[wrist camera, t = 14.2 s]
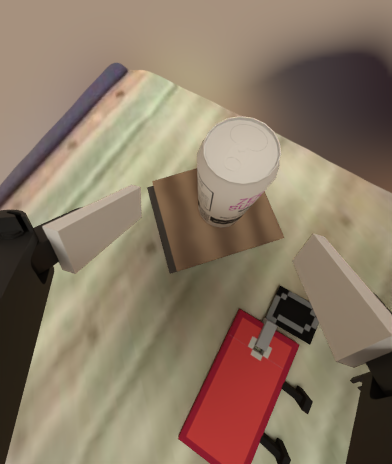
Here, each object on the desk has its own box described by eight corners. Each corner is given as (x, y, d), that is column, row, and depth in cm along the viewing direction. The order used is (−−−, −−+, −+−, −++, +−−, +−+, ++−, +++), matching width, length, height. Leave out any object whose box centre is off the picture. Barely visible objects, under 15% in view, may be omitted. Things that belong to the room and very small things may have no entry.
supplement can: (211, 179, 30) (223, 98, 15) (250, 200, 29) (303, 134, 14) (190, 214, 28) (179, 162, 14) (229, 236, 27) (263, 207, 13)
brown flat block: (242, 165, 34) (248, 153, 30) (273, 240, 31) (284, 237, 27) (150, 192, 34) (144, 183, 30) (172, 272, 30) (168, 274, 26)
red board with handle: (329, 313, 28) (255, 272, 30) (343, 319, 25) (260, 273, 27) (260, 491, 24) (179, 429, 26) (267, 520, 21) (176, 449, 23)
